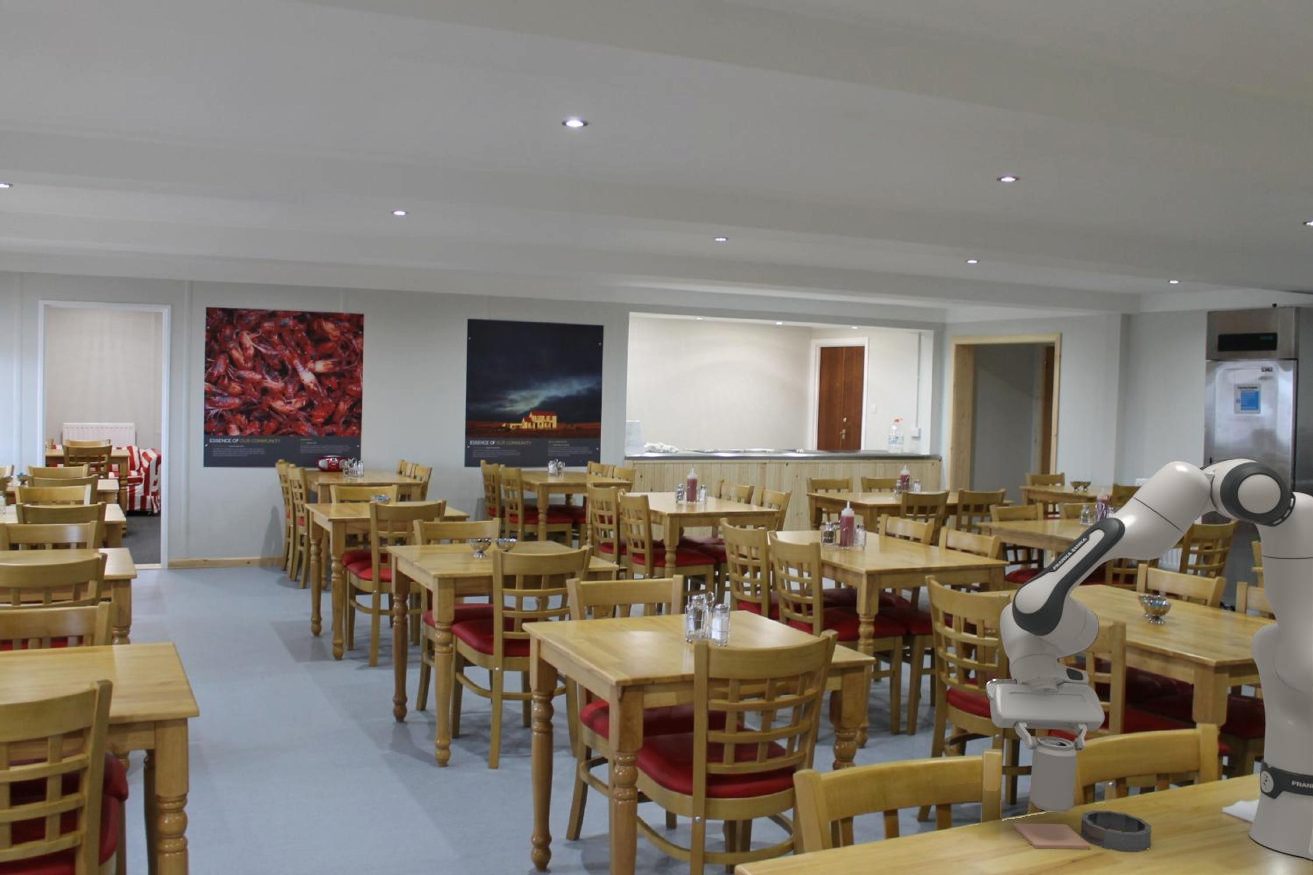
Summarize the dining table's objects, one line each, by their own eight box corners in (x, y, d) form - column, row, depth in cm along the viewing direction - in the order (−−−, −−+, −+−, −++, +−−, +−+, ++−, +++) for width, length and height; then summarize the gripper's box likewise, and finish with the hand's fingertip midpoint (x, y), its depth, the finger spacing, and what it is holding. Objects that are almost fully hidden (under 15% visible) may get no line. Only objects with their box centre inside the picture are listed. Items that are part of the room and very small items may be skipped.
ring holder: (1130, 826, 210) (1131, 810, 210) (1162, 851, 198) (1163, 834, 198) (1070, 825, 209) (1071, 809, 209) (1099, 850, 197) (1100, 833, 197)
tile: (1065, 827, 208) (1065, 824, 208) (1090, 848, 198) (1090, 845, 198) (1012, 826, 207) (1013, 823, 207) (1035, 848, 197) (1035, 844, 197)
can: (1076, 816, 198) (1081, 748, 198) (1032, 811, 199) (1036, 743, 199) (1069, 801, 205) (1073, 736, 205) (1026, 796, 207) (1030, 732, 206)
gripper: (988, 669, 208) (1005, 738, 198) (1095, 673, 209) (1117, 741, 200) (978, 687, 212) (994, 755, 203) (1083, 691, 214) (1104, 758, 205)
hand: (1056, 748), depth 201 cm, fingers closed on can, 7 cm apart
